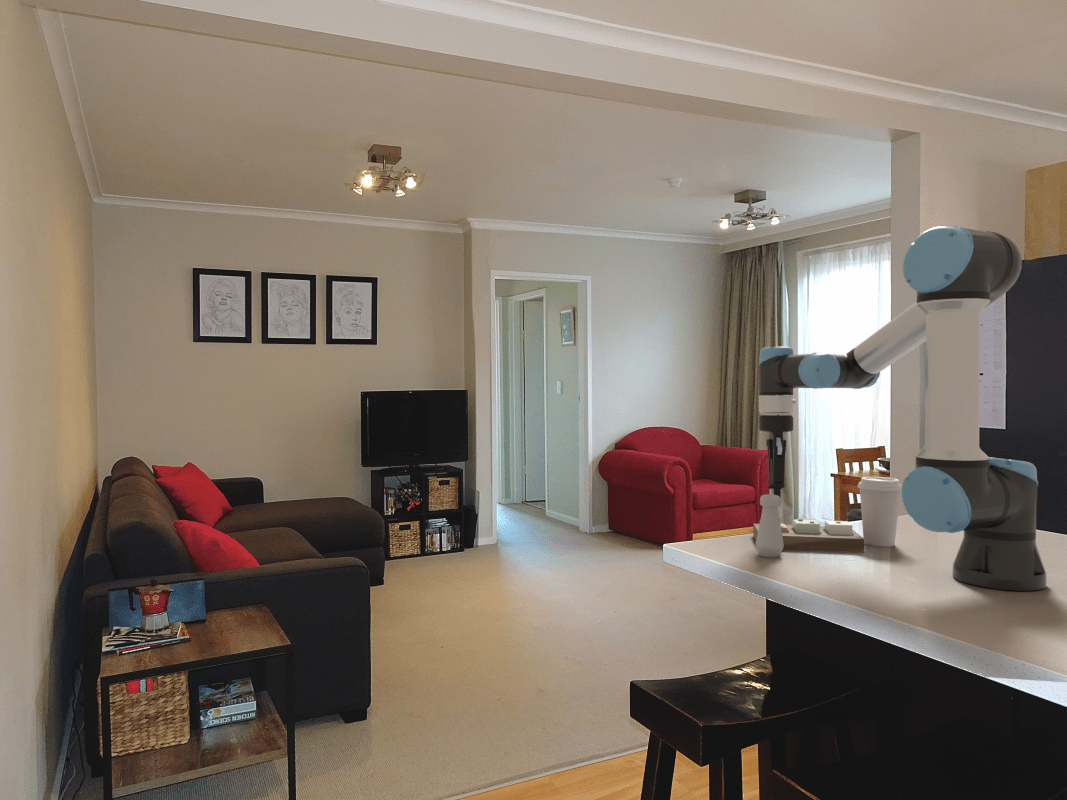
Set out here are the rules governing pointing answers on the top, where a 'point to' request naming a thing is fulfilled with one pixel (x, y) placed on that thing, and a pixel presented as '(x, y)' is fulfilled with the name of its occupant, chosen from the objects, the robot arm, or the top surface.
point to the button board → (819, 540)
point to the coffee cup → (879, 509)
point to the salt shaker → (769, 528)
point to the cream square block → (838, 528)
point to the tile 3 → (783, 528)
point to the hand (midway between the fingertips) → (776, 516)
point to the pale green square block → (806, 526)
